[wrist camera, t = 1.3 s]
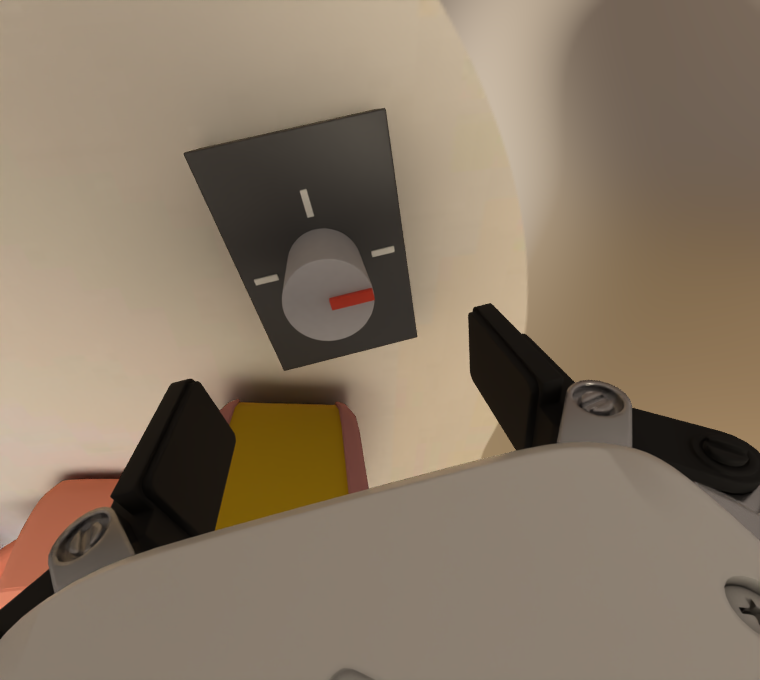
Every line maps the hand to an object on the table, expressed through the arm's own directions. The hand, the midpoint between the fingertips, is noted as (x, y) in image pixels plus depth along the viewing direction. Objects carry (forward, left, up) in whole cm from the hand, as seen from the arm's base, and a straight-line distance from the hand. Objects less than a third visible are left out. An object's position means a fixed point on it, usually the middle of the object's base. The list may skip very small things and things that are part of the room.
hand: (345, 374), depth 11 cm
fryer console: (0, 0, -13) cm, 13 cm away
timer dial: (0, 0, -10) cm, 10 cm away
